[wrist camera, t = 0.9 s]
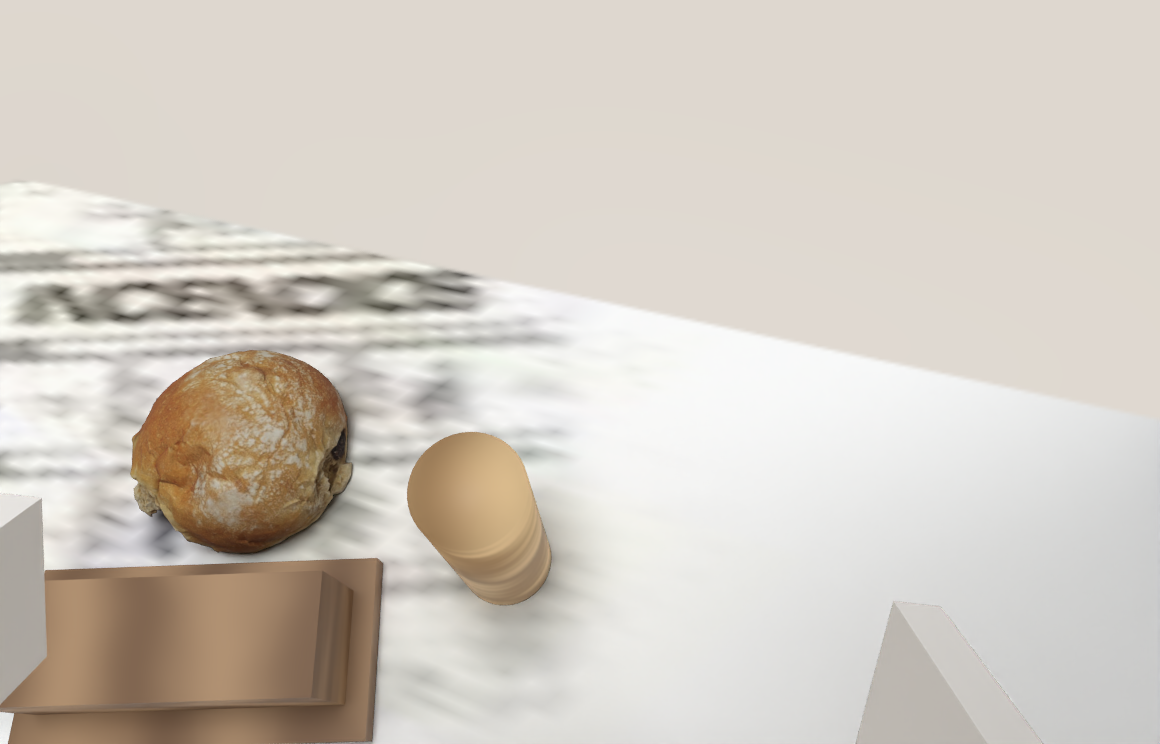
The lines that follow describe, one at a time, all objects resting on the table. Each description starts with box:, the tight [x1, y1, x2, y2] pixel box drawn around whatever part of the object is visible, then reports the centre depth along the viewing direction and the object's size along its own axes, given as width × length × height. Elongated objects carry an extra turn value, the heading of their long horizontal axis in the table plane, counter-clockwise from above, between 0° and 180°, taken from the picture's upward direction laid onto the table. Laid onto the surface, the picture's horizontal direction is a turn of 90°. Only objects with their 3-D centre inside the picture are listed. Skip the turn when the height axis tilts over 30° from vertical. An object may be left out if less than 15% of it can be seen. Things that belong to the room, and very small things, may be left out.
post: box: [407, 432, 551, 605], centre depth 38 cm, size 4×4×12 cm
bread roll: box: [130, 350, 352, 553], centre depth 44 cm, size 10×10×8 cm
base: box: [0, 558, 383, 744], centre depth 39 cm, size 16×8×6 cm, turn 92°
